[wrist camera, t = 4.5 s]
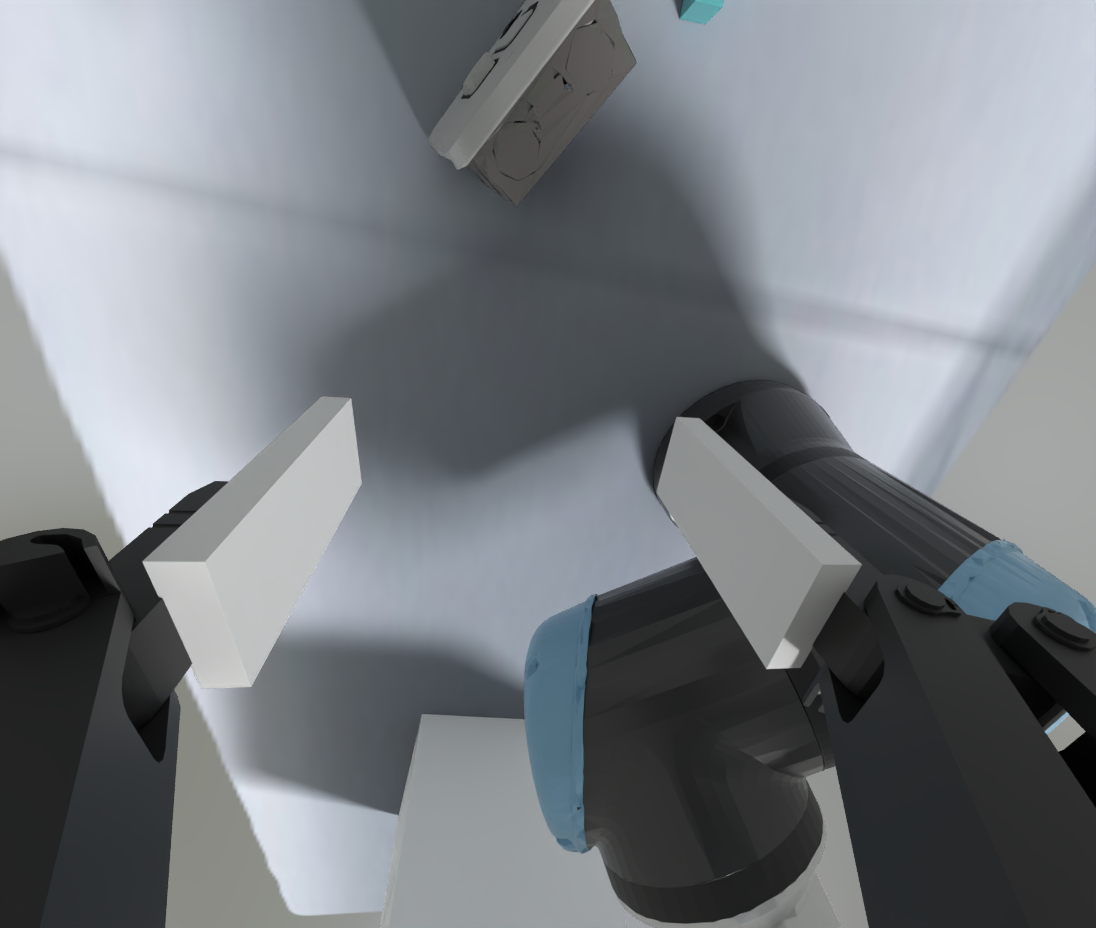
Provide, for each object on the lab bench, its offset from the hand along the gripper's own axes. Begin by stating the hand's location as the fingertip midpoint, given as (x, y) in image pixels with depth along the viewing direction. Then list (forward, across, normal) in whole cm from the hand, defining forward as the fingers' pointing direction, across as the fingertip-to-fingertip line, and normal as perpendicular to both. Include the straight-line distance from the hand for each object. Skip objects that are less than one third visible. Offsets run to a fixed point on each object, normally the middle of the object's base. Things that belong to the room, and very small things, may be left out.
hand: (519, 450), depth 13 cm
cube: (+20, -1, +60) cm, 63 cm away
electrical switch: (+20, 0, -12) cm, 23 cm away
